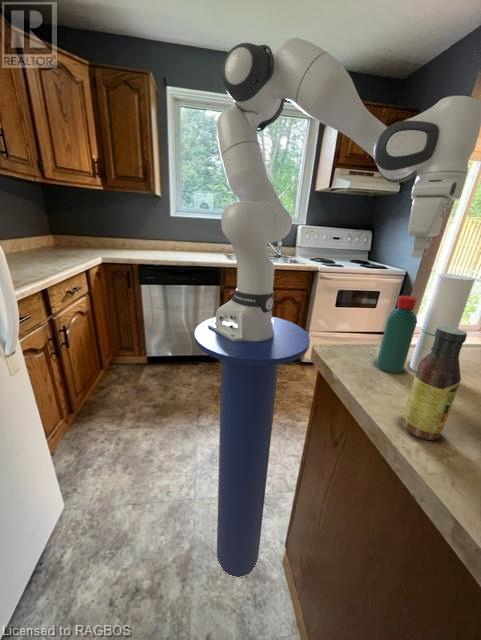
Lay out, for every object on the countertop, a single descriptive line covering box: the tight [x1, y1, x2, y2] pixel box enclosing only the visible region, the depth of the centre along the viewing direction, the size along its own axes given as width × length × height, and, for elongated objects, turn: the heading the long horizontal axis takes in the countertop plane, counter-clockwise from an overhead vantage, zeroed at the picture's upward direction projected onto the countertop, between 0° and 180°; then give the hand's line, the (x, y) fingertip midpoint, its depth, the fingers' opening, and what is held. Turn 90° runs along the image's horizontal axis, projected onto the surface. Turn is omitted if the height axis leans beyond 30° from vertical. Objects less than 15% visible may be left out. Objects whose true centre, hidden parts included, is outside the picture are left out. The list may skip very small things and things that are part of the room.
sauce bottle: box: [402, 326, 468, 441], centre depth 47 cm, size 6×6×20 cm
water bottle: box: [375, 306, 418, 374], centre depth 69 cm, size 6×6×19 cm
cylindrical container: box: [409, 273, 476, 373], centre depth 68 cm, size 7×7×25 cm
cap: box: [396, 295, 418, 310], centre depth 66 cm, size 4×4×2 cm
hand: (419, 256), depth 63 cm, fingers open, 5 cm apart
